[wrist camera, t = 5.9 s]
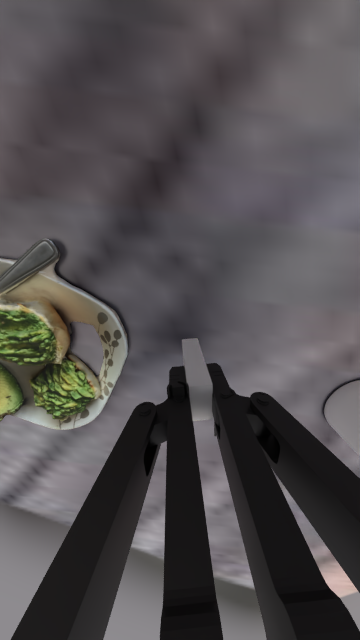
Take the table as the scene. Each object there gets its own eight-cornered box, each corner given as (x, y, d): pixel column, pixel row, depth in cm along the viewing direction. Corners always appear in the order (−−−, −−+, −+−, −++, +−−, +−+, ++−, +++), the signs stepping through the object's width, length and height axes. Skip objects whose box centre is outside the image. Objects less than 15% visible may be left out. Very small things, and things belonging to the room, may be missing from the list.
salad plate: (-41, 185, 14) (-141, 151, 9) (164, 296, 17) (161, 309, 13) (-70, 373, 19) (-143, 407, 14) (92, 428, 22) (72, 470, 18)
